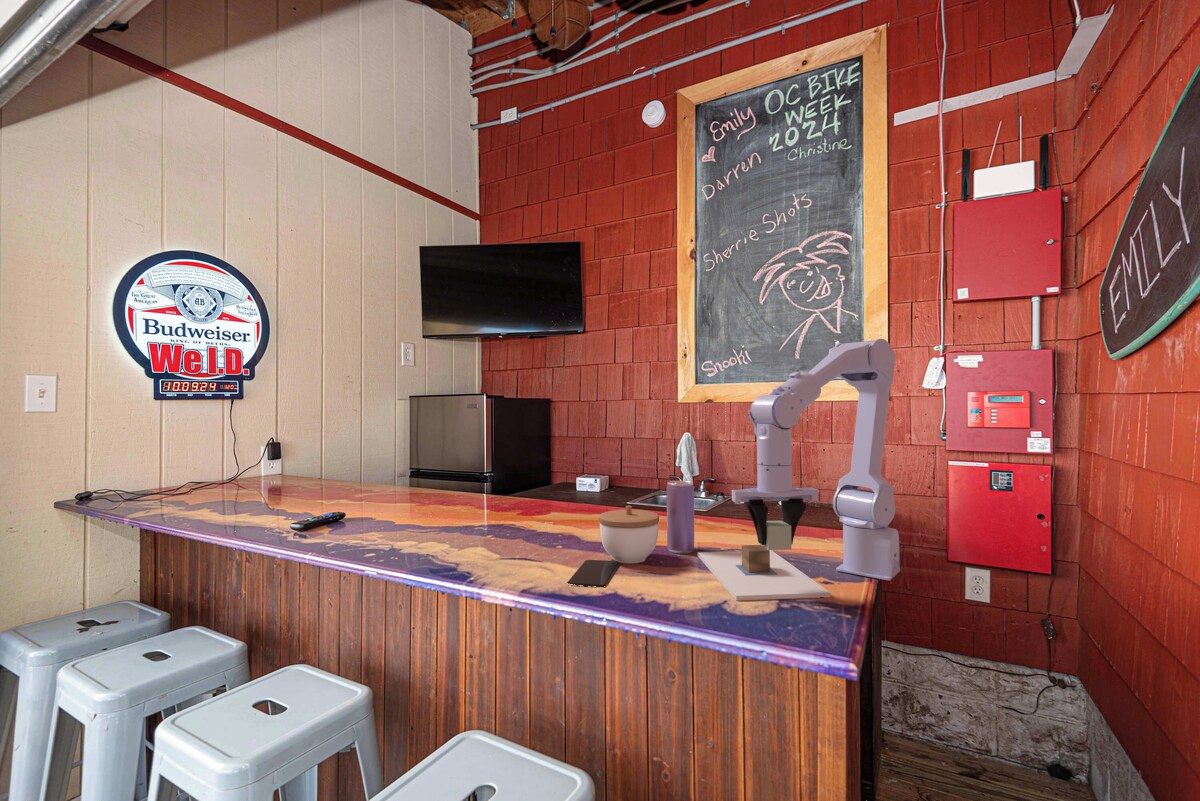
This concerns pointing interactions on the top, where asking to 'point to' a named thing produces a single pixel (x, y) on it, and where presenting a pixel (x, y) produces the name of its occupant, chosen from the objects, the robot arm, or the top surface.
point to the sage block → (778, 536)
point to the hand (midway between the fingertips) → (775, 543)
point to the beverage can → (680, 516)
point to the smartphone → (594, 573)
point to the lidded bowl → (629, 534)
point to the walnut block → (755, 558)
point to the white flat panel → (761, 578)
